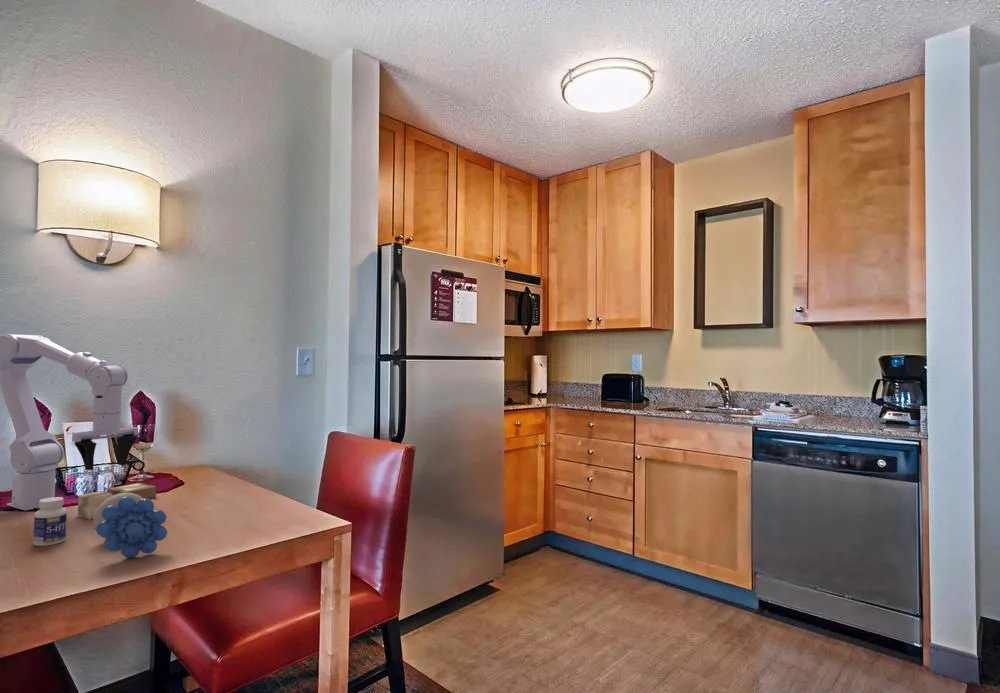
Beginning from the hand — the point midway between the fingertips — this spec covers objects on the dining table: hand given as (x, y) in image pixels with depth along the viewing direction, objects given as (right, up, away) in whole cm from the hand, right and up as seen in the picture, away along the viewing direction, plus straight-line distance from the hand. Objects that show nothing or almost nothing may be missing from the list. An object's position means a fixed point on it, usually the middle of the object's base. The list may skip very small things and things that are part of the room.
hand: (105, 466), depth 140 cm
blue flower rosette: (+29, -11, -33) cm, 45 cm away
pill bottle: (+6, -10, -25) cm, 28 cm away
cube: (+1, -11, -6) cm, 12 cm away
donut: (+20, -11, -23) cm, 32 cm away
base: (0, -11, +10) cm, 14 cm away
